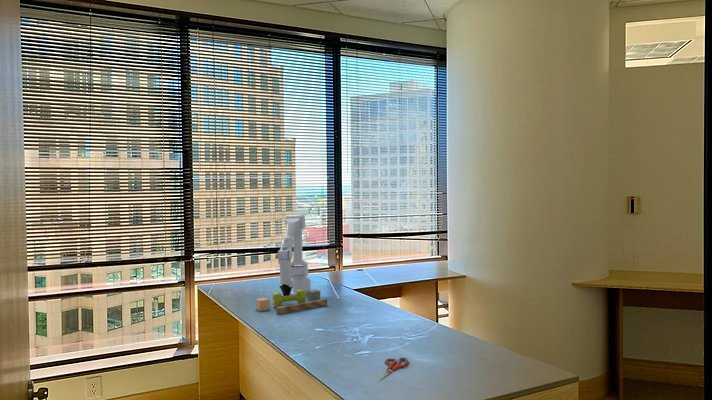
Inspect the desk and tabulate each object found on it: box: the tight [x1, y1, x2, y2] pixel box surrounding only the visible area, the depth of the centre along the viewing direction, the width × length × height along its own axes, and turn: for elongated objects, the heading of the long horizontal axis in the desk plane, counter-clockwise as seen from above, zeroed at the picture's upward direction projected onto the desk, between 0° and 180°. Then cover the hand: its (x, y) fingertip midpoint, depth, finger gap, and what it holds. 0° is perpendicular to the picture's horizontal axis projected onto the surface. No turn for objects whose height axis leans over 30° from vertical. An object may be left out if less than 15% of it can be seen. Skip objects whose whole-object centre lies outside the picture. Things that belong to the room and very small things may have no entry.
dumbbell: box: [272, 289, 307, 309], centre depth 246 cm, size 16×8×7 cm, turn 114°
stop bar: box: [276, 298, 328, 316], centre depth 236 cm, size 26×2×3 cm, turn 123°
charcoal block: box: [306, 289, 322, 302], centre depth 255 cm, size 5×5×5 cm
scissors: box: [376, 357, 409, 383], centre depth 153 cm, size 8×21×2 cm, turn 165°
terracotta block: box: [255, 297, 271, 312], centre depth 240 cm, size 5×5×5 cm
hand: (286, 299), depth 251 cm, fingers closed
